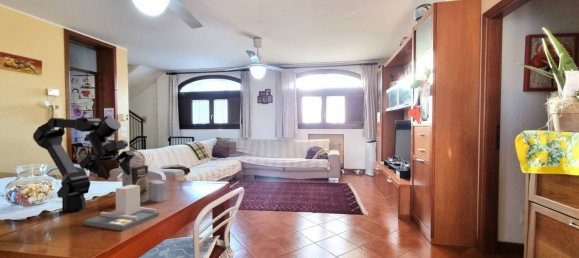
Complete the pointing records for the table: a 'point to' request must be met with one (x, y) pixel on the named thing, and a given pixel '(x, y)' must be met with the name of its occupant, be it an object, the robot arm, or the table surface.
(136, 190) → the toggle
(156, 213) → the switch board
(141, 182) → the coffee box
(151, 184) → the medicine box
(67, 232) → the table surface
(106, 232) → the table surface
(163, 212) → the table surface
